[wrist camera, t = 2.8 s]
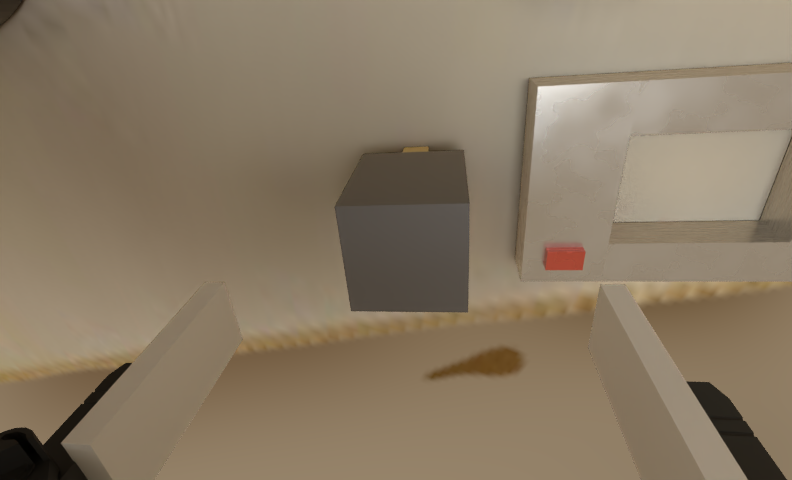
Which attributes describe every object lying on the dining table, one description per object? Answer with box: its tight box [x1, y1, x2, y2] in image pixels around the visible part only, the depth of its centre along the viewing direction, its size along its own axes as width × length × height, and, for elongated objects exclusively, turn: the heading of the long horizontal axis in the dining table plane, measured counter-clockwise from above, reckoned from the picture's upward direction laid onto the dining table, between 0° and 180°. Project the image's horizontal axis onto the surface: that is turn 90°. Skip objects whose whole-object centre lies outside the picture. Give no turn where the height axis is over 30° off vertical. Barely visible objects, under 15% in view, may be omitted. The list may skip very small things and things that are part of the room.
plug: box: [335, 147, 470, 312], centre depth 21 cm, size 5×5×9 cm
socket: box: [515, 63, 792, 282], centre depth 22 cm, size 18×11×3 cm, turn 94°
